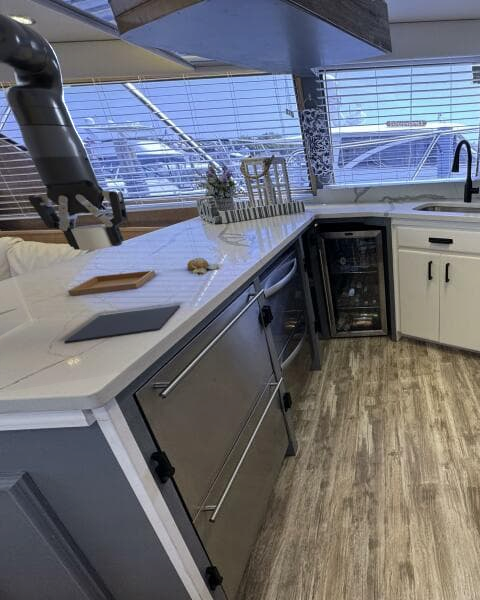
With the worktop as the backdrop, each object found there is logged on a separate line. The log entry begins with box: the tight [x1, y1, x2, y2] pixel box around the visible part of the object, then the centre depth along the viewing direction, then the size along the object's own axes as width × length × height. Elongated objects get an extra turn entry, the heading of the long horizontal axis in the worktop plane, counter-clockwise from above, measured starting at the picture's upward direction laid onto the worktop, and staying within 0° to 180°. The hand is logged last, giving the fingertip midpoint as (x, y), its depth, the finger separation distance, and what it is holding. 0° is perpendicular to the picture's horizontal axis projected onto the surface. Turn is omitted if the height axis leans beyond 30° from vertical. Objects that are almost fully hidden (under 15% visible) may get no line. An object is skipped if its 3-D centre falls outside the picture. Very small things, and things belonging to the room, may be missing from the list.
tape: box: [71, 223, 114, 251], centre depth 64 cm, size 6×6×4 cm
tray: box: [67, 269, 156, 297], centre depth 90 cm, size 15×12×2 cm
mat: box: [63, 304, 181, 344], centre depth 68 cm, size 16×12×1 cm
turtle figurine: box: [187, 257, 221, 275], centre depth 101 cm, size 8×8×4 cm
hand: (99, 246), depth 64 cm, fingers closed on tape, 6 cm apart
